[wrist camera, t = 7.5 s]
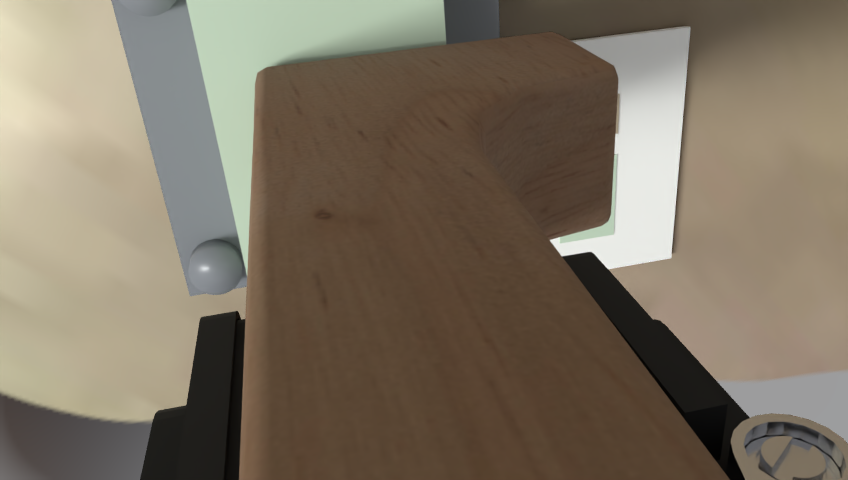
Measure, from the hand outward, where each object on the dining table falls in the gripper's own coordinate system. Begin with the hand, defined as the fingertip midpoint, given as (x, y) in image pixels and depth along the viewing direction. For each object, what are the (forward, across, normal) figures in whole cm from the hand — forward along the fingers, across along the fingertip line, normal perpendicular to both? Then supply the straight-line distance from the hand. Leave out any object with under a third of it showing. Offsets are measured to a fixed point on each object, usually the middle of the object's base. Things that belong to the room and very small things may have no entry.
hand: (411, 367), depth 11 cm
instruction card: (+17, -10, +4) cm, 20 cm away
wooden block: (+12, -2, 0) cm, 12 cm away
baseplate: (+17, 0, 0) cm, 17 cm away
